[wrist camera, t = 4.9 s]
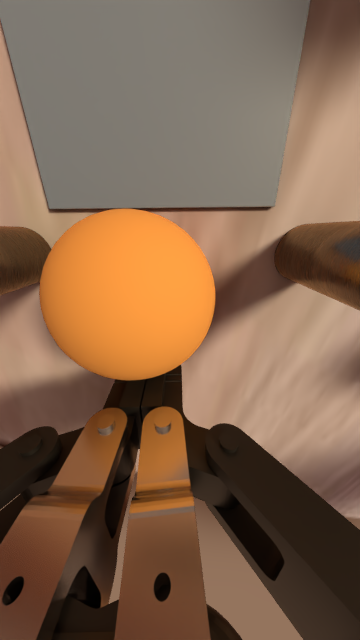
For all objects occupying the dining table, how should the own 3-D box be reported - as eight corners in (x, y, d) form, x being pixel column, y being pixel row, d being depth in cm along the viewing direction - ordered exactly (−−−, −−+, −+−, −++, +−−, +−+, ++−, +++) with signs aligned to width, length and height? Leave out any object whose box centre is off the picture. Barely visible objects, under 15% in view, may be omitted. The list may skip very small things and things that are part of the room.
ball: (218, 336, 10) (209, 214, 9) (225, 428, 5) (204, 139, 3) (117, 341, 12) (92, 234, 10) (29, 421, 6) (-68, 206, 4)
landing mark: (357, -296, 4) (365, -318, 4) (273, 206, 9) (274, 206, 8) (-72, -281, 4) (-83, -302, 4) (52, 209, 9) (49, 208, 9)
